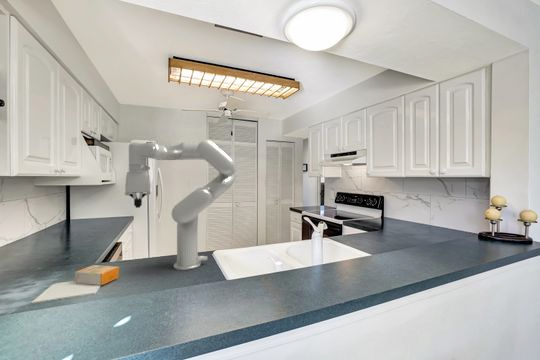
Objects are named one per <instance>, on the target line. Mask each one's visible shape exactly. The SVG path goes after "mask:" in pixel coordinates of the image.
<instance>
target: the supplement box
mask: <svg viewBox="0 0 540 360" xmlns="http://www.w3.org/2000/svg"><path fill="white" fill-rule="evenodd" d="M119 269H120V267H119V266H113V265H111V266H110V265H98V264H93V265H90V266H88V267H85V268H82V269H78V270H77V271H75V275H74V276H75V281H76V283H82V284H94V285H101V286H104V285H106V284H107V283H110V282H112V281H114V280H117V279H118V278H119V276H120V274H119V271H120V270H119Z"/></svg>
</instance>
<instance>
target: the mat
mask: <svg viewBox="0 0 540 360" xmlns="http://www.w3.org/2000/svg"><path fill="white" fill-rule="evenodd" d="M101 287H102V285H94V284H82V283H76V280H71V281H64V282H63V281H62V282H56V283H53V284H52V285H50V286H49V287H48V288H47V289H46V290H44V291H43V292H42V293H40V294H39V295H38V296H37V297H35V299H33V300H32V301H31V302H30V304H31V305H34V304H39V303H40V304H41V303H47V301H48V302H53V301H52V300H54V301H59V300H58V299H61V300H66V299H65V298H67V299H73V298H79V297H85V296H93V295H96V293H97V292H98V290H100V288H101Z"/></svg>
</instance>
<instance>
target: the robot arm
mask: <svg viewBox="0 0 540 360" xmlns="http://www.w3.org/2000/svg"><path fill="white" fill-rule="evenodd" d="M147 158H148V159H152V160H157V161H177V160H179V161H187V160H189V161H190V160H191V161H192V160H195V161H196V160H204V161H206V162H207V163H208V164H209V165H210V166H212V167H213V168H214V169H215V170H216V171H217V172H218V174H217V176H216V177H214V178H213V179H211V181H210V182H208V183H207V184H205V185H204V186H202V187H198V188H196V189H195V190H193V191H191V192H190V193H189V194H188V195H187V196H186V197H184V198H183V199H182V200H180V201H179V202H178V203H177V204H176V205H174V206H173V208H172V210H171V217H172V220H173V221H174V222H176V223H177V225H176V262H175V263H174V264H173V269H175V270H178V271H187V270H192V269H196V268H198V267H200V266H201V264H202V262H203V261H208V256H207V255H206V256H205V255H199V253H198V226H199V225H198V219H199V214H200V213H202V212H203V211H204V210H205V209H207V208H208V207H209V206H210V205H212V204H213V203H214V202H215V201H216V200H217V199H219V197H220V196H221V195H223V194H224V193H226V192H227V190H229V189H230V188H231V186H232V185H233V184H234V182H235V180H236V176H237V169H236V165H235V162H234V160H233V159H232V158H231V157H230V156H229V155H228V154H227V153H226V152H225V151H223V150H222V149H221V148H219V146H218V145H217V144H215V142H213V141H212V140H209V139H204V140H201V141H200V142H199V141H198V142H197V141H196V142H194V141H193V142H190V141H186V142H185V141H184V142H181V143H180V144H177V145H176V144H175V145H161V144H159V143H156V142H153V141H152V142H145V143H144V142H142V143H140V142H132V143H129V145H128V171H127V172H126V175H125V187H124V188H125V189H124V190H125V192H124V195H125V196H129V197H131V198H132V199H133V203H134V204H133V206H134V207H135V208H136V209H137V208H141V206H142V205H143V204H142V203H143V202H142V201H143V200H142V199H143V198H144V197H146V196H148V195H149V196H150V195H151V181H150V179H151V178H150V173H149V172H148V171H149V170H151V167H150V166H147V161H148V160H147ZM137 194H139V195H137Z"/></svg>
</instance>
